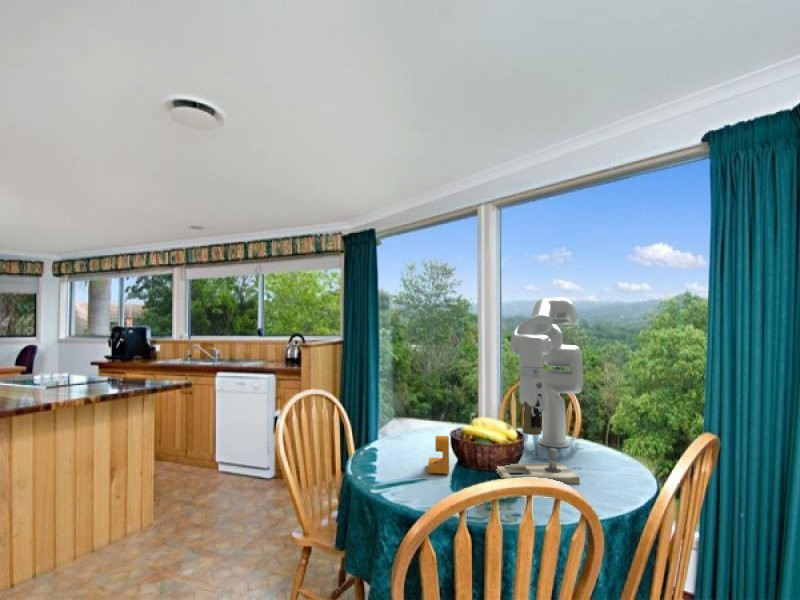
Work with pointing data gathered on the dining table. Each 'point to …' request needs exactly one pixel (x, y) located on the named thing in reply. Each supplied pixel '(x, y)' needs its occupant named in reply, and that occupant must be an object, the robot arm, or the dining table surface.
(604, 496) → the dining table surface
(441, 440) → the bracket
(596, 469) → the dining table surface
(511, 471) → the beige panel with knob
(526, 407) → the olive rounded piece
